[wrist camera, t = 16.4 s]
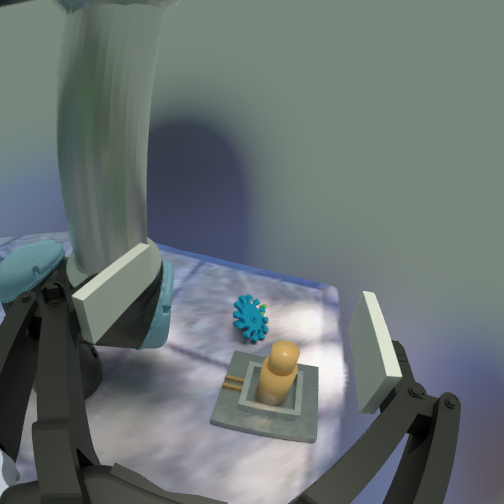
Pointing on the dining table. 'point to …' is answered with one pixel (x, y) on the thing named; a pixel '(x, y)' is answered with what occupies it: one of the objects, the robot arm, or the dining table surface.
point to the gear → (250, 317)
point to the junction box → (263, 415)
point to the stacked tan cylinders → (278, 373)
